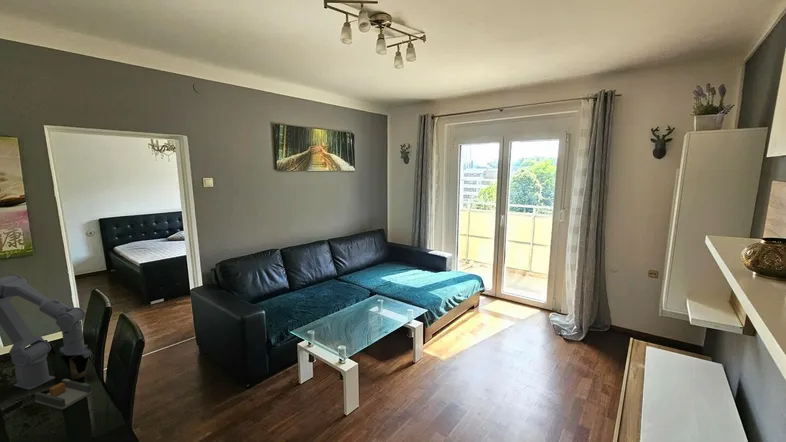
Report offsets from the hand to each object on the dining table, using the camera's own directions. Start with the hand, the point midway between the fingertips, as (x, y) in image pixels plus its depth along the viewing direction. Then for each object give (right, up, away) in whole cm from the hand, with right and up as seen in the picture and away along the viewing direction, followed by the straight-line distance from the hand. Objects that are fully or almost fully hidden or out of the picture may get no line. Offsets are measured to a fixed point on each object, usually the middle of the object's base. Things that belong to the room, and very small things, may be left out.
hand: (77, 370), depth 132 cm
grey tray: (+5, -5, -11) cm, 13 cm away
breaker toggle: (+2, -4, -10) cm, 11 cm away
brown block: (0, -2, 0) cm, 2 cm away
